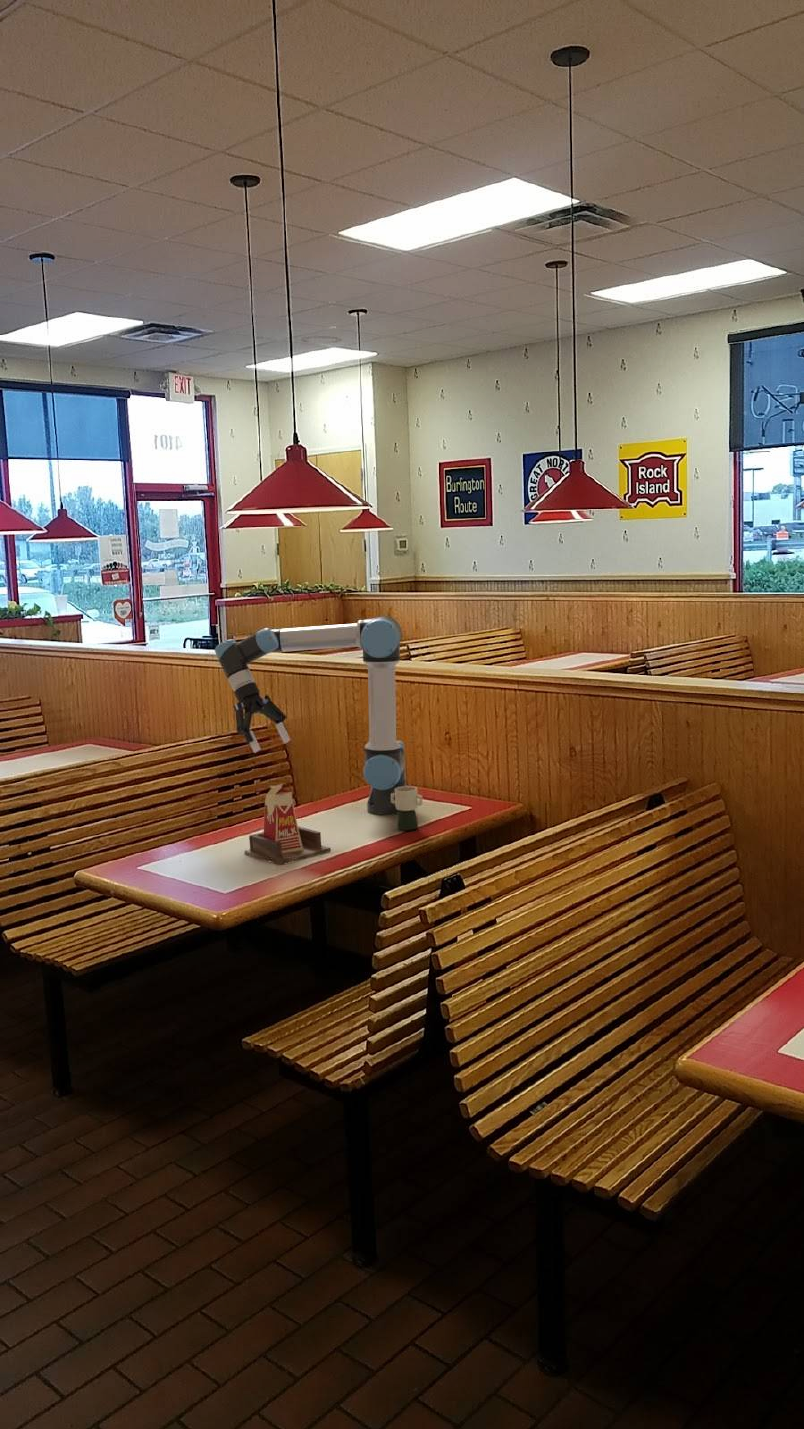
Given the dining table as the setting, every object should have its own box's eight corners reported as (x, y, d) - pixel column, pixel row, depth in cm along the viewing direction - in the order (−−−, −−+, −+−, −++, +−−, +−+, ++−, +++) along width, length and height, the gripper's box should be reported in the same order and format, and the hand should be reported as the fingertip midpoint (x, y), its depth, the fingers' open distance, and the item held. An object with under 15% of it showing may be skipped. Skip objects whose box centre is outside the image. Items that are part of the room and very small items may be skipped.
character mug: (428, 827, 342) (426, 786, 340) (418, 833, 336) (416, 792, 334) (397, 825, 347) (395, 784, 345) (387, 831, 341) (384, 789, 339)
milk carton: (303, 849, 321) (298, 782, 318) (274, 855, 317) (269, 787, 314) (290, 843, 329) (285, 777, 326) (261, 848, 325) (256, 782, 322)
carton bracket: (294, 840, 335) (293, 823, 335) (330, 851, 322) (329, 832, 321) (244, 854, 324) (243, 835, 323) (280, 865, 310) (278, 846, 309)
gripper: (264, 685, 362) (292, 742, 360) (208, 698, 343) (237, 759, 340) (278, 675, 358) (306, 733, 355) (222, 688, 338) (251, 750, 336)
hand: (272, 746), depth 348 cm, fingers open, 13 cm apart
